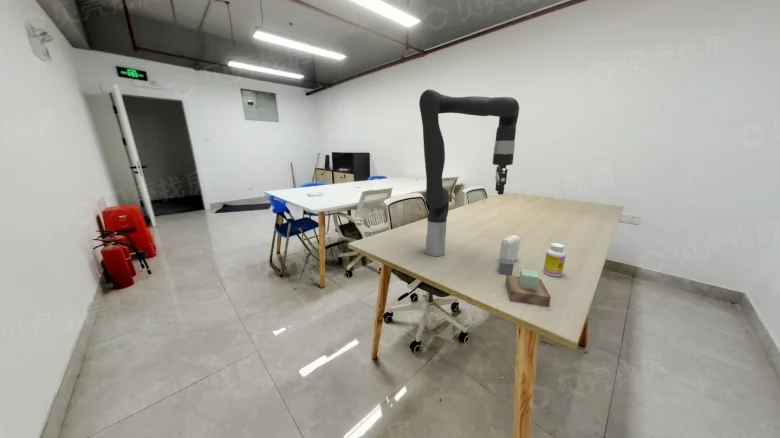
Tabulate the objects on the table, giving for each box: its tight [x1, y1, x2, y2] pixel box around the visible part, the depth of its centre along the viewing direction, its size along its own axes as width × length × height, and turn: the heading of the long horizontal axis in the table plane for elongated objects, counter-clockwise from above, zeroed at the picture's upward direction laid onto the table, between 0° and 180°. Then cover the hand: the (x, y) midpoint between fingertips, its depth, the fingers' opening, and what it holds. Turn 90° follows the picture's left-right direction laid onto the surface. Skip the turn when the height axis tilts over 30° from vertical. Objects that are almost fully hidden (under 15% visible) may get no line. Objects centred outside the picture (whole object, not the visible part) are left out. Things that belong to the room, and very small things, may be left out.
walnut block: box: [505, 274, 551, 307], centre depth 90 cm, size 12×12×4 cm
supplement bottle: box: [542, 242, 567, 277], centre depth 103 cm, size 7×7×13 cm
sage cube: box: [519, 268, 540, 290], centre depth 89 cm, size 5×5×5 cm
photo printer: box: [499, 234, 521, 263], centre depth 115 cm, size 10×4×12 cm, turn 123°
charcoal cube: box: [497, 257, 514, 276], centre depth 106 cm, size 5×5×5 cm
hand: (499, 192), depth 104 cm, fingers open, 8 cm apart
